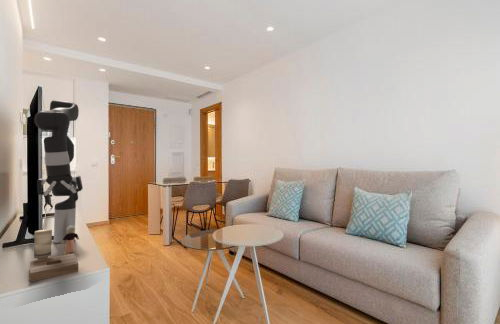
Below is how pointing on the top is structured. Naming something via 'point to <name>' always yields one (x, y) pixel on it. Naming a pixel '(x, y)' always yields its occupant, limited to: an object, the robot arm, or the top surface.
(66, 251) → the grandmother figurine
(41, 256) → the beech peg
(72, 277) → the top surface
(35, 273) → the walnut board
